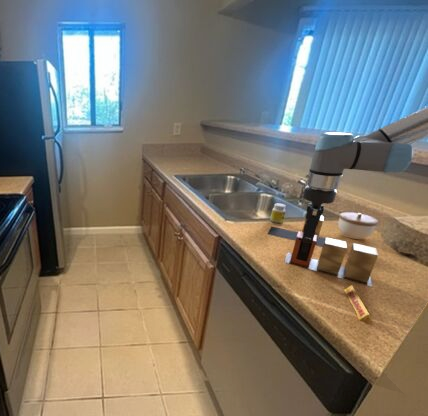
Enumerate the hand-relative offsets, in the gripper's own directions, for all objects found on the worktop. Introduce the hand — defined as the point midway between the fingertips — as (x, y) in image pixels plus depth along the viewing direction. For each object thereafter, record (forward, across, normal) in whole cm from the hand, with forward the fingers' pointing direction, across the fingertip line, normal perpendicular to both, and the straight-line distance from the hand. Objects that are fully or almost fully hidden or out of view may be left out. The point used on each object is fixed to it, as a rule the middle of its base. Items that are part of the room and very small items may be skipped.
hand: (303, 250), depth 88 cm
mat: (+4, -20, -3) cm, 21 cm away
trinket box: (+4, -33, +14) cm, 36 cm away
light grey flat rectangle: (+4, 0, +6) cm, 8 cm away
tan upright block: (+4, 0, +7) cm, 8 cm away
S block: (+4, 0, 0) cm, 4 cm away
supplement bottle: (+4, -30, -11) cm, 32 cm away
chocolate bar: (+4, +16, +13) cm, 21 cm away
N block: (+4, 0, +13) cm, 14 cm away
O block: (+4, -20, +1) cm, 20 cm away
